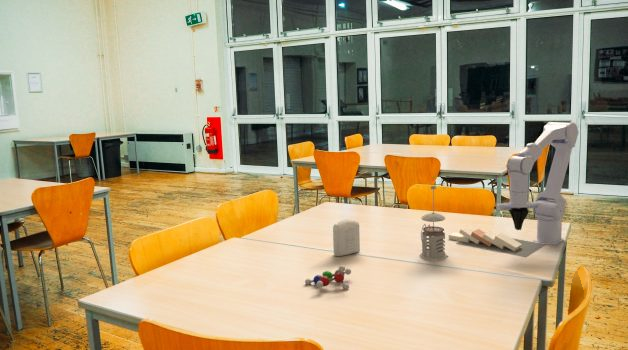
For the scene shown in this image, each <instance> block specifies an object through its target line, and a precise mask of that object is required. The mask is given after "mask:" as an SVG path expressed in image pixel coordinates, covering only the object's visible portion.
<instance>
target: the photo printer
mask: <svg viewBox="0 0 628 350" xmlns="http://www.w3.org/2000/svg"><path fill="white" fill-rule="evenodd" d="M360 238H361V237H360V223H359V221H358V220H356V219H344V220H340V221H338V222H336V223H335V224H333V226H332V242H333V243H332V245H333V255H334V256H335V257H341V256H347V255H351V254H355V253H359V252H360V248H361V246H360V243H361V242H360Z"/></svg>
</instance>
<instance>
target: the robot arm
mask: <svg viewBox="0 0 628 350" xmlns="http://www.w3.org/2000/svg"><path fill="white" fill-rule="evenodd" d="M578 137H579V130H578V126H577V124H576V122H558V121H557V122H556V121H555V122H553V121H549V122H547V123H546V124H544V126H543V131H542V133H541V134H540V136H539V137H538V138H537V139H536V140H535V141H534V142H530V143H529V142H528V143H527V144H526V146H525V147H523V149H522V150H521V151H519V153H517V155H513V156H511V157H510V158H508V159H507V162H506V165H505V166H506V170H507V172H508V177H509V202H503V203H496V210H497V211H508V212H509V214H510V217H511V219H512V221H513V226H514V229H515V230H516V231H522V228H523V224H524V221H525V219H526V218H527V216H528V215H529V212H530V211H529V209H532V212H533V214H534V215H535V218H537V226H536V238H535V239H533V240H532V242H536V243H542V244H547V245H552V246H555V245H557V244H559V243H561V241H564V240H565V238H562V229H563V228H562V226H563V224H562V220H561V219H562V218H563V217H564V215H565V214H566V204H567V203H566V202H567V200H566V199H565V197H564V196H563V195H562V194H561V191H562V188H563V184H564V180H565V177H566V173H567V169H568V166H569V162H570V158H571V155H572V152H573V151H572V150H573V148H575V147H576V143H577V141H578V140H577V139H578ZM549 145H551V146H552V147H554V149H555V152H554V155H553V159H552V161H551V166H550V170H549V173H548V177H547V182H546V183H545V184H546V185H545V187H544V188H545V189H544V190H543V191H541V192H539V193H538V194H536V198H535V199H534V201H529V200H528V199H529V197H528V196H529V195H528V193H529V174H530V173H531V172H532V169H533V166H534V164H535V163H536V161H537V160H538V159H539V158H540V157H541V156H542V155H543V150H544V149H545V148H546V147H548V146H549Z"/></svg>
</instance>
